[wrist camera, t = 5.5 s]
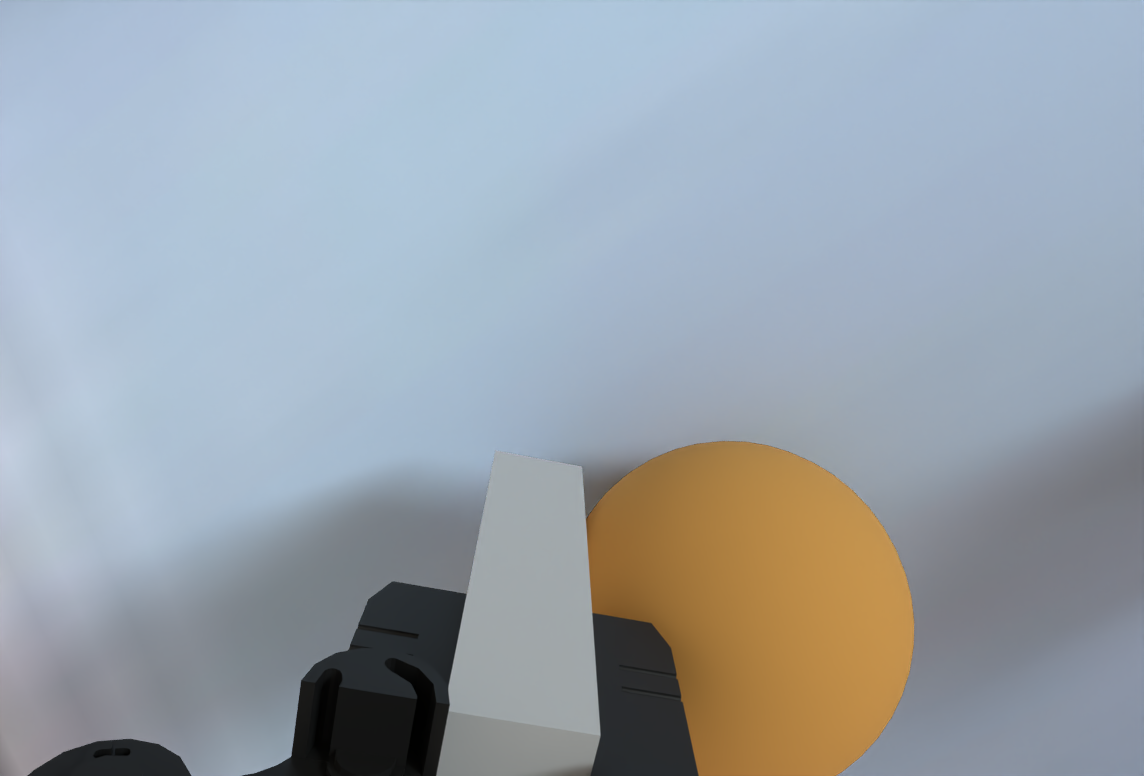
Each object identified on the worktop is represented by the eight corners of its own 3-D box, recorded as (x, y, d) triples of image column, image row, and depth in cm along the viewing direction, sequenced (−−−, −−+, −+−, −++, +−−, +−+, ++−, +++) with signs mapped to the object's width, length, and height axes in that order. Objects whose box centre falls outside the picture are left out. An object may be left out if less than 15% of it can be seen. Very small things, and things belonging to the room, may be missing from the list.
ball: (689, 374, 17) (989, 479, 14) (628, 618, 18) (887, 751, 16) (525, 429, 12) (926, 600, 9) (464, 749, 14) (792, 969, 11)
